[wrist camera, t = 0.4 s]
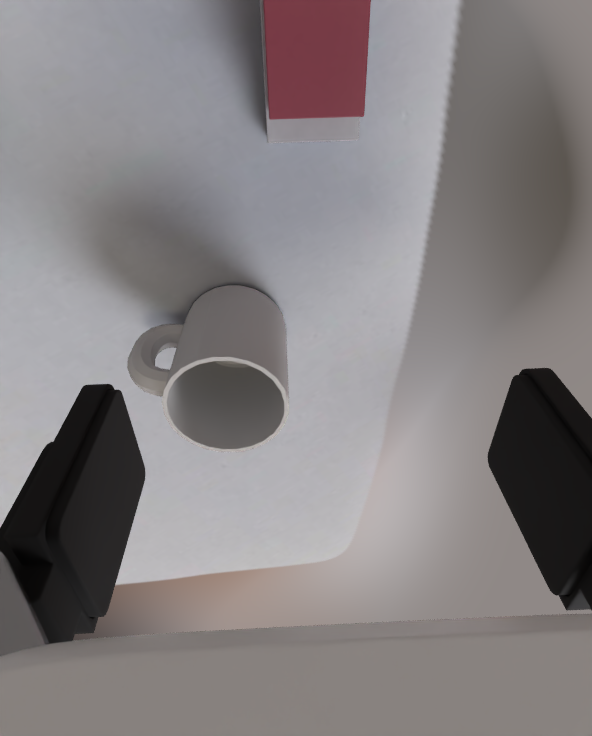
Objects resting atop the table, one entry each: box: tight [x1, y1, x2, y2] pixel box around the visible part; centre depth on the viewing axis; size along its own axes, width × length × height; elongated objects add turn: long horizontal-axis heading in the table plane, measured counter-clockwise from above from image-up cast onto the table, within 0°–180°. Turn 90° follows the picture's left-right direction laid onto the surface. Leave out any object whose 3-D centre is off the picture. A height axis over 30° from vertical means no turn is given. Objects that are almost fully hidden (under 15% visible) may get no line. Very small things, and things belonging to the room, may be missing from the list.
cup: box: [127, 285, 289, 452], centre depth 30 cm, size 7×10×9 cm
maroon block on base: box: [260, 0, 371, 143], centre depth 22 cm, size 9×5×4 cm, turn 1°
